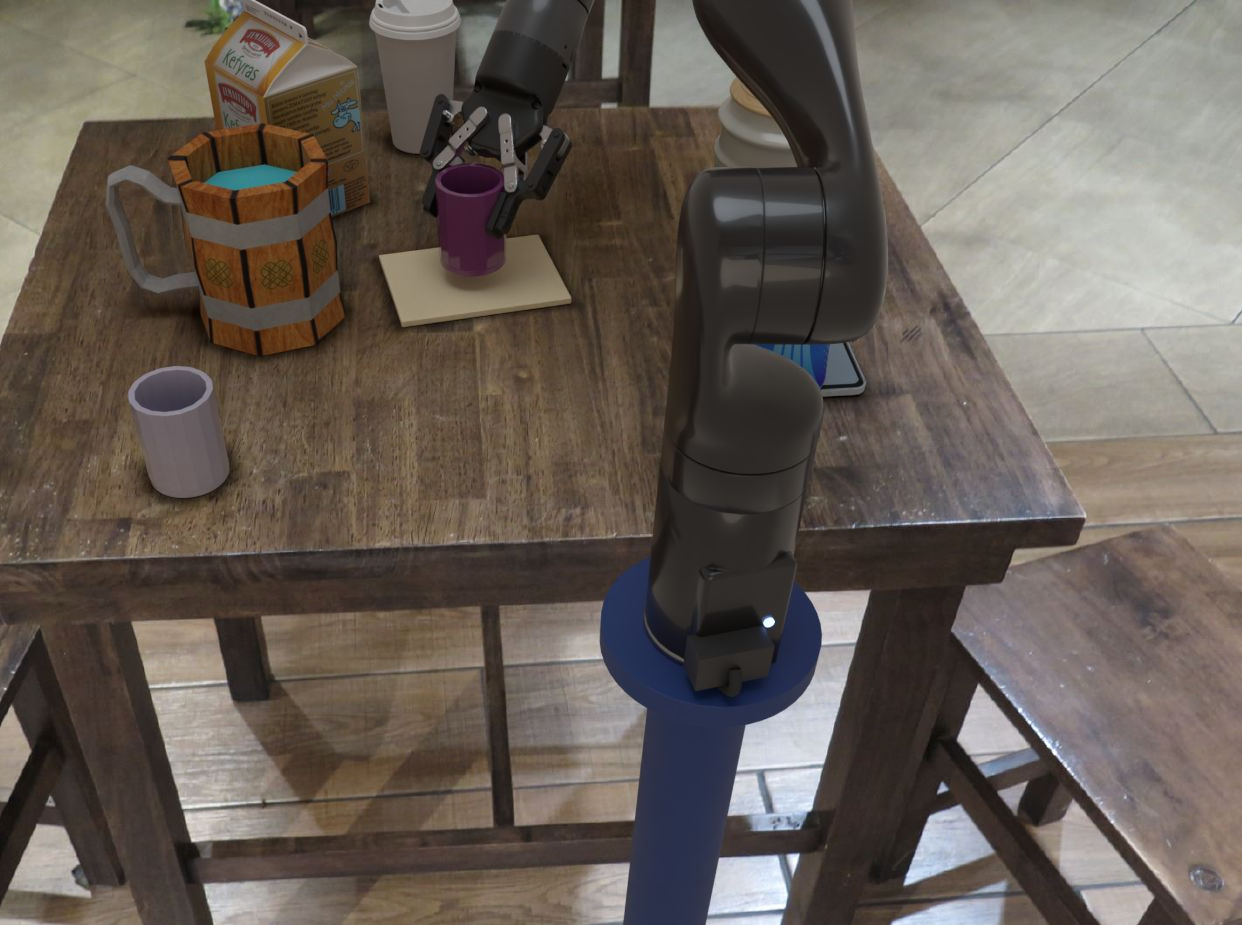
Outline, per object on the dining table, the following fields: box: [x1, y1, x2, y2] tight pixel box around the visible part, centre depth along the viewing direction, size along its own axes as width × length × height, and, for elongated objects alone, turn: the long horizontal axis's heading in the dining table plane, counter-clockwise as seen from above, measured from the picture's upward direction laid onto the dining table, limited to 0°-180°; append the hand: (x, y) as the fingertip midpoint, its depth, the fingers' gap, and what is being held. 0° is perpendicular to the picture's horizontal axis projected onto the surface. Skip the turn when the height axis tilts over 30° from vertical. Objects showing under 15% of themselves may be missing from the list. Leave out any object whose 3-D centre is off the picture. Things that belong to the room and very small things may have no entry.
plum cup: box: [435, 162, 507, 277], centre depth 116 cm, size 6×6×8 cm
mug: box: [104, 123, 347, 357], centre depth 111 cm, size 20×14×15 cm
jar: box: [713, 76, 797, 168], centre depth 121 cm, size 13×13×18 cm
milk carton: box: [204, 0, 371, 218], centre depth 124 cm, size 11×11×19 cm
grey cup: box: [127, 365, 231, 499], centre depth 97 cm, size 6×6×8 cm
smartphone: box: [820, 342, 867, 398], centre depth 112 cm, size 7×1×15 cm
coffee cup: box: [368, 0, 462, 155], centre depth 135 cm, size 10×10×15 cm
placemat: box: [378, 234, 572, 328], centre depth 120 cm, size 12×16×1 cm
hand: (461, 224), depth 114 cm, fingers closed on plum cup, 6 cm apart
